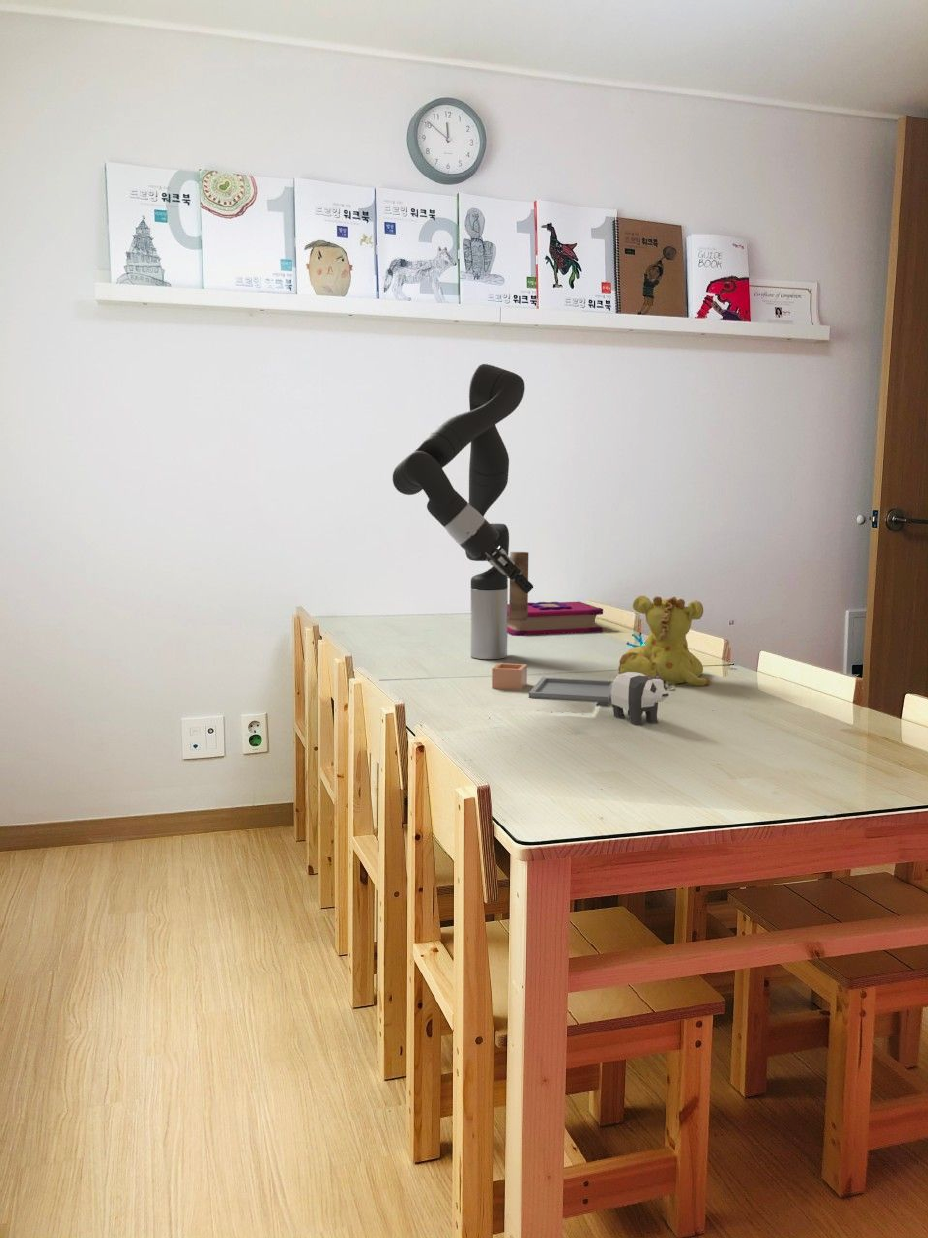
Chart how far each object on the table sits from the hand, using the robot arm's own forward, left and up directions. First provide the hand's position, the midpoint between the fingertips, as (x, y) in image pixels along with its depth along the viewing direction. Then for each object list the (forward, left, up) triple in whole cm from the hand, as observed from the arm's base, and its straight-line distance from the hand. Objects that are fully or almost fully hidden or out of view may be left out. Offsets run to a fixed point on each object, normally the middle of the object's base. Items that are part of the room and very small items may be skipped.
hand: (528, 588), depth 212 cm
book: (-87, -11, -22) cm, 90 cm away
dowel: (+1, -2, -6) cm, 7 cm away
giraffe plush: (-21, +27, -22) cm, 41 cm away
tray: (+2, +10, -22) cm, 24 cm away
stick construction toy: (-44, +22, -22) cm, 54 cm away
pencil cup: (0, -4, -22) cm, 22 cm away
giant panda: (+21, +25, -22) cm, 39 cm away
